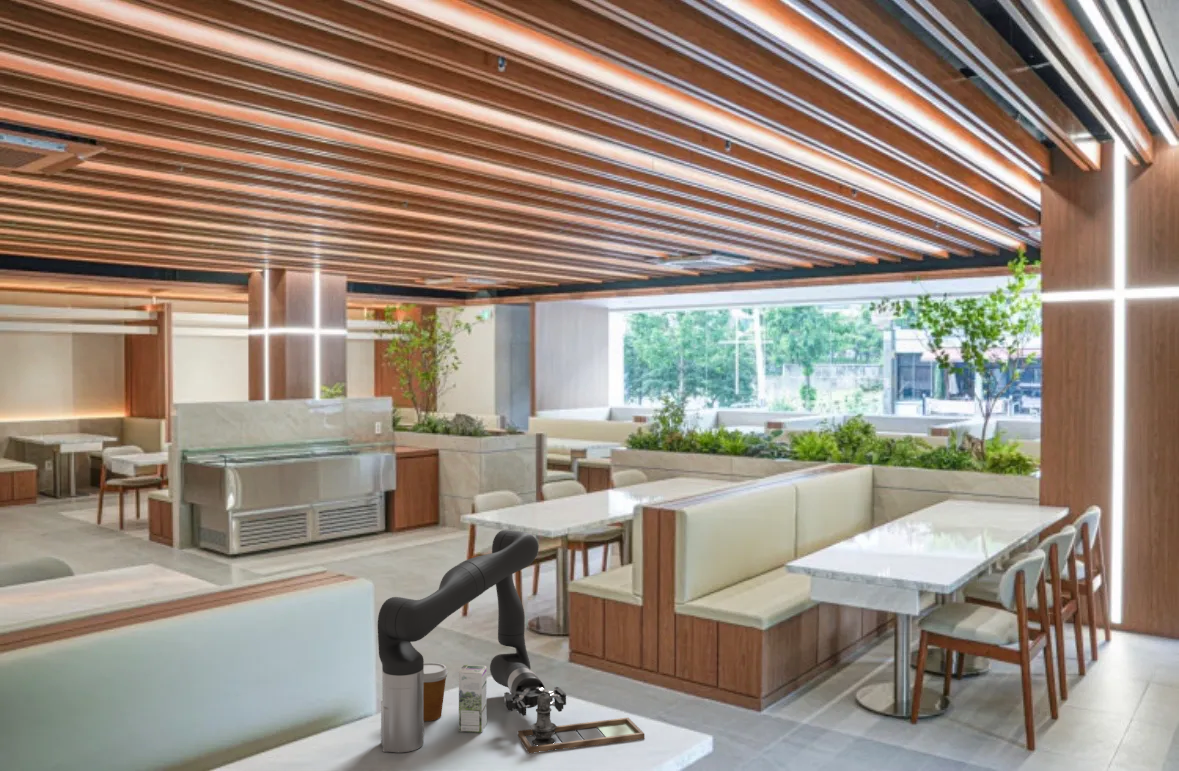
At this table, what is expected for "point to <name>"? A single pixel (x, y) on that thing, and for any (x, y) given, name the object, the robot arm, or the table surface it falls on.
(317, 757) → the table surface
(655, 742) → the table surface
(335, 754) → the table surface
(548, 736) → the salt shaker
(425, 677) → the disposable coffee cup
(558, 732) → the tray
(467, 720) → the syrup box
